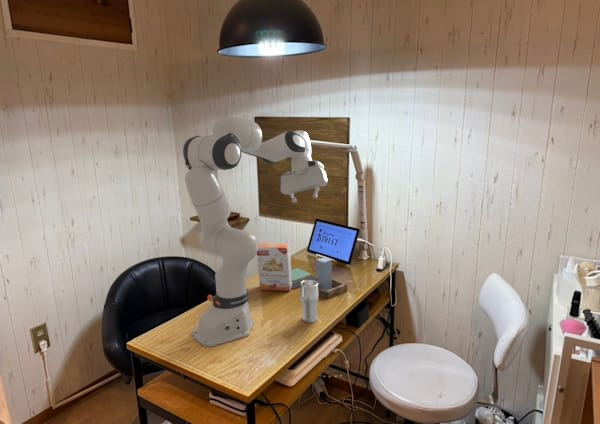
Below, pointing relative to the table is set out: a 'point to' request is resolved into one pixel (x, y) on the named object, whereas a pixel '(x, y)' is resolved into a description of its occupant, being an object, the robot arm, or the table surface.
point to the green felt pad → (299, 274)
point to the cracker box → (274, 266)
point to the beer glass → (309, 300)
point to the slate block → (324, 273)
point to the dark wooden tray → (337, 290)
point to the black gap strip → (298, 283)
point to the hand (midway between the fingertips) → (304, 200)
